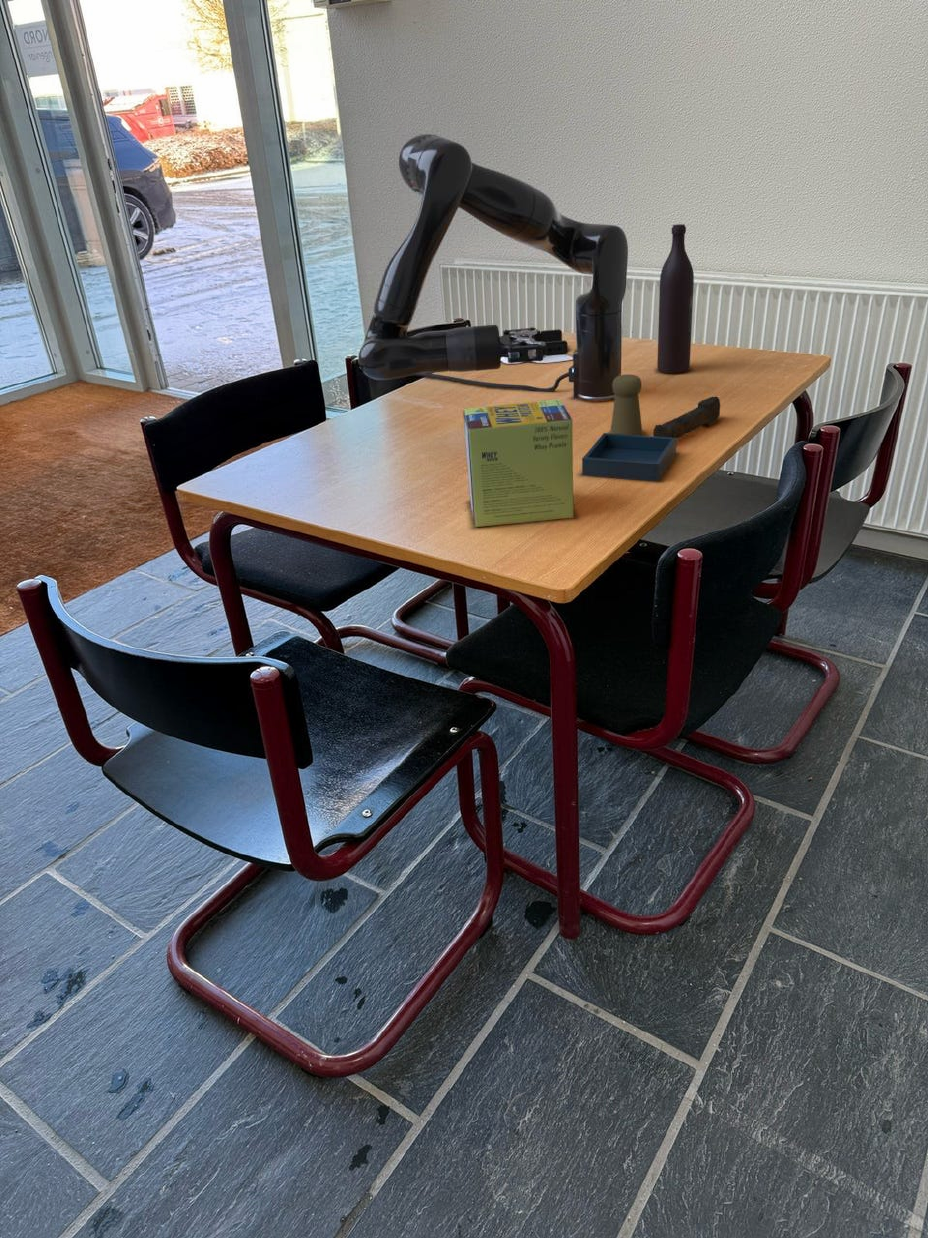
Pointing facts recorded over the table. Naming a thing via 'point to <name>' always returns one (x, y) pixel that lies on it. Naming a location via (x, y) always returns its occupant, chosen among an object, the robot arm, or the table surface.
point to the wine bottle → (675, 307)
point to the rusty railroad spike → (690, 419)
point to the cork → (626, 406)
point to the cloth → (544, 359)
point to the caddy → (629, 457)
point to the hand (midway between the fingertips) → (564, 341)
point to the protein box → (519, 462)
